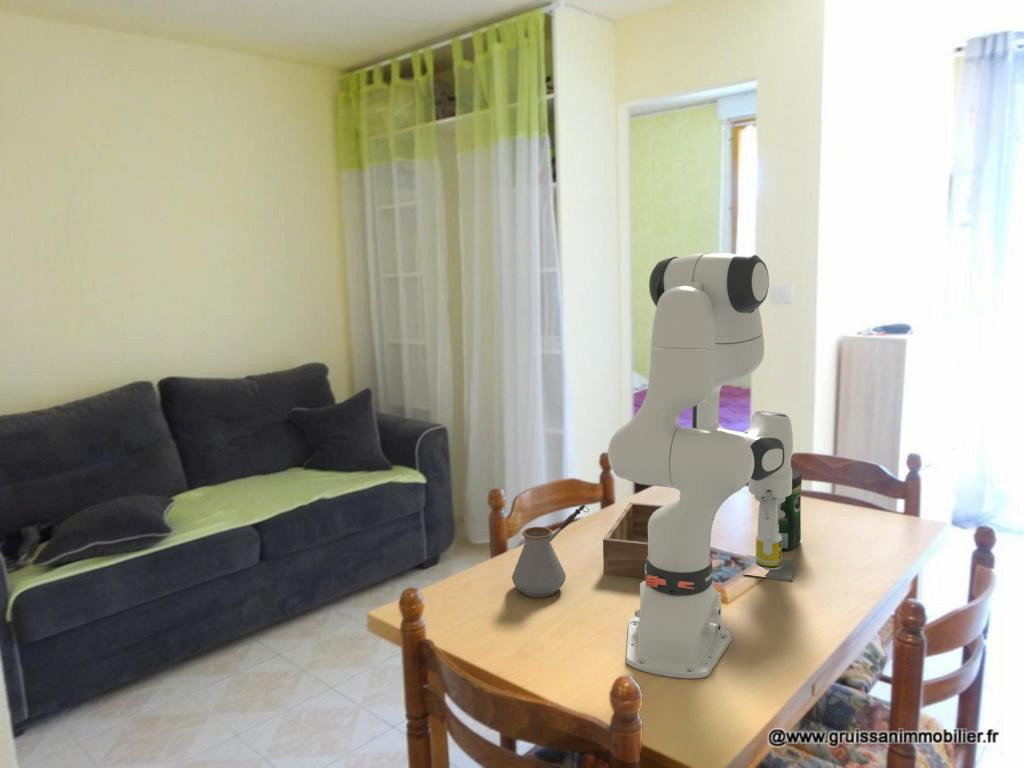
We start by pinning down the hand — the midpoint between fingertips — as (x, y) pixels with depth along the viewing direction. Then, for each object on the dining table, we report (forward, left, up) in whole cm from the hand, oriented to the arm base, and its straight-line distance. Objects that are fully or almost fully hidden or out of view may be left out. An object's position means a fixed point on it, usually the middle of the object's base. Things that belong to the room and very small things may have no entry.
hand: (769, 545), depth 160 cm
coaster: (0, 0, -6) cm, 6 cm away
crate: (0, +27, -6) cm, 28 cm away
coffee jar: (+16, -2, -6) cm, 17 cm away
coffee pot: (-20, +43, -6) cm, 48 cm away
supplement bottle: (0, 0, -5) cm, 5 cm away
